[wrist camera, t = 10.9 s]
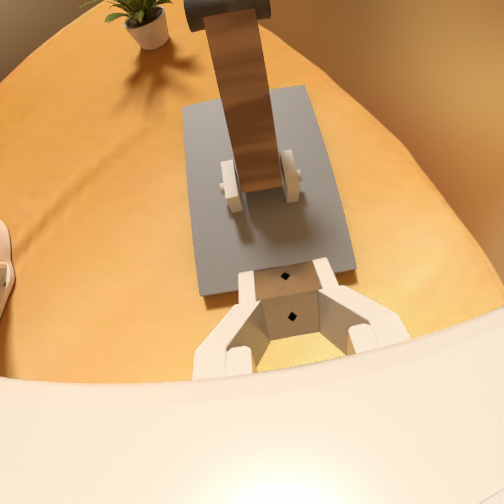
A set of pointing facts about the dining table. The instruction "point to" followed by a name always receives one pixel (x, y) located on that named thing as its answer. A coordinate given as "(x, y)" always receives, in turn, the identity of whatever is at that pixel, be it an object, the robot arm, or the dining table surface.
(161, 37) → the house plant
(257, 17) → the lever
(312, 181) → the press base
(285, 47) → the dining table surface
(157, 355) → the dining table surface
